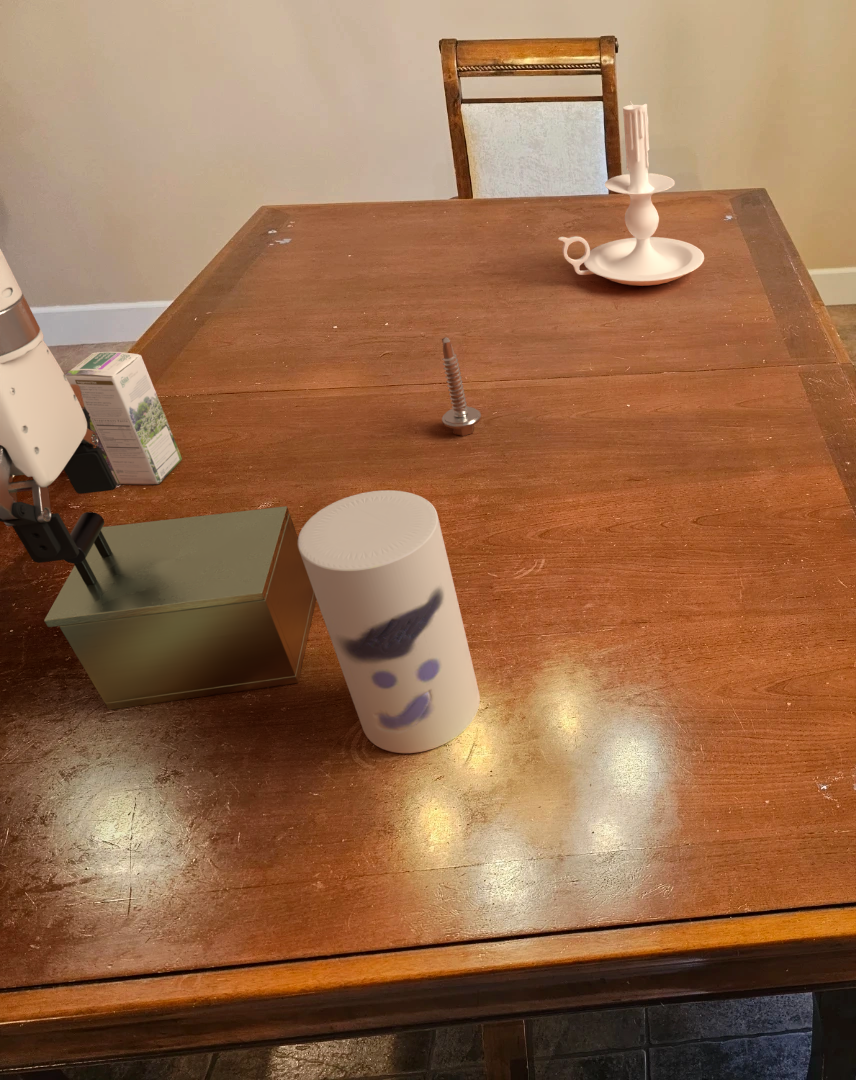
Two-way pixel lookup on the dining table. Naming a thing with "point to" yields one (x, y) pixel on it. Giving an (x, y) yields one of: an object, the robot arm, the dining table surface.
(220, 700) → the dining table surface
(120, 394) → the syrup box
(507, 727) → the dining table surface
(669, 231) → the dining table surface
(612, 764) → the dining table surface
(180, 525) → the lid
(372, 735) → the container
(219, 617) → the bin
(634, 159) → the candlestick
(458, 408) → the screw
